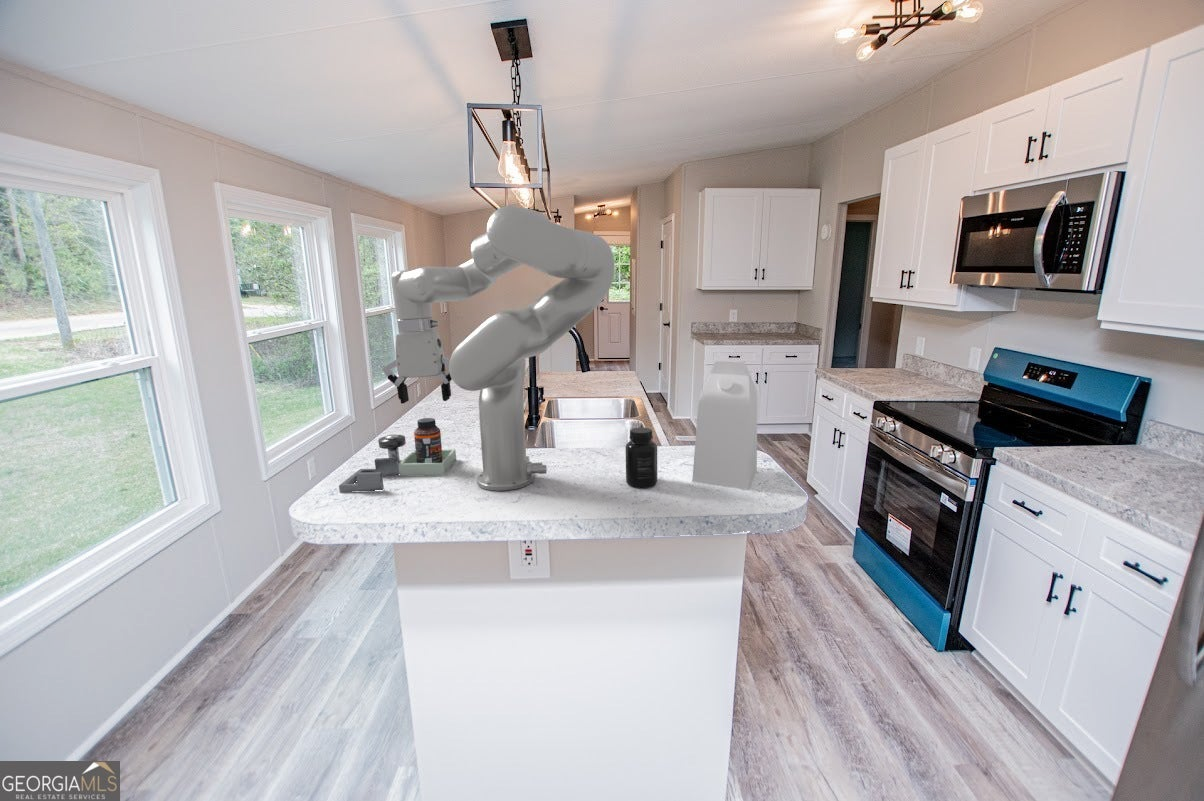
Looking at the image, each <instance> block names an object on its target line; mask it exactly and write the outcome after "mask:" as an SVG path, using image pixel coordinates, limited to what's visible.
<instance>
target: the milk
mask: <svg viewBox="0 0 1204 801" xmlns="http://www.w3.org/2000/svg"><path fill="white" fill-rule="evenodd" d="M694 442H695V443H694V454H693V467H692V477H691V478H692V479H691V482H693V483H699V484H706V485H713V486H719V487H726V488H731V489H732V488H734V489H740V490H746V491H749V490H750V487H751V485H752V483H753V481H754V478H755V477H756V475H757V472H758V470H757V469H758V391H757V388H756V385H755V383H754V381H753V378H752V377H751V375H750V372H749V369H748V366H747V364H746V362H745V361H743V360H742V361H741V360H725V359H723V360H720V359H717V360H715V361H714V363H713V365H712V368H711V369H710V372H709V374H708V376H707V379H706V381H705V382H704V385H703V388H702V390H701V392H700V395H699V398H698V404H697V417H696V430H695V441H694Z"/></svg>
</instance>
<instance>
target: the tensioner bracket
mask: <svg viewBox="0 0 1204 801" xmlns="http://www.w3.org/2000/svg"><path fill="white" fill-rule="evenodd" d="M374 465H375V466H374V467H375V468H360V469H358V470H357V471H356V472H355V473H353V474H352V475H350V476H349V477H348V478H346V480H344V481H343V482H342V483H340V484H339V485H338V490H339V493H353V492H352V491H375V490H383V489H384V490H385V486H384V480H383V479H384V478H383V477H399V476H400V475H399V474H400V473H399V461H398V458H389V457H384V458H383V457H381V458H380V457H378V458H375V459H374ZM356 481H357V482H356ZM355 482H356V483H355ZM354 483H355V484H354ZM384 490H383V491H384Z"/></svg>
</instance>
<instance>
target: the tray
mask: <svg viewBox="0 0 1204 801" xmlns="http://www.w3.org/2000/svg"><path fill="white" fill-rule="evenodd" d="M456 453H457V452H456V449H442V458H443V461H442V463H417V461H416V449H413V451H412V452H411V453H409V455H407V456H406V457H405V458H404V459H402V462H401V463H400V464H399V473H400V475H399V476H400V477H415V476H417V477H418V476H421V475H423V477H424V476H425V475H427V476H445V475H446V474H445V473H447V472H448V471H449V470H450V469H451V467H452V466H453V465H454V464H453V463H456V461H457V455H456ZM452 464H453V465H452ZM449 468H450V469H449ZM448 469H449V470H448ZM421 477H422V476H421Z"/></svg>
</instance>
